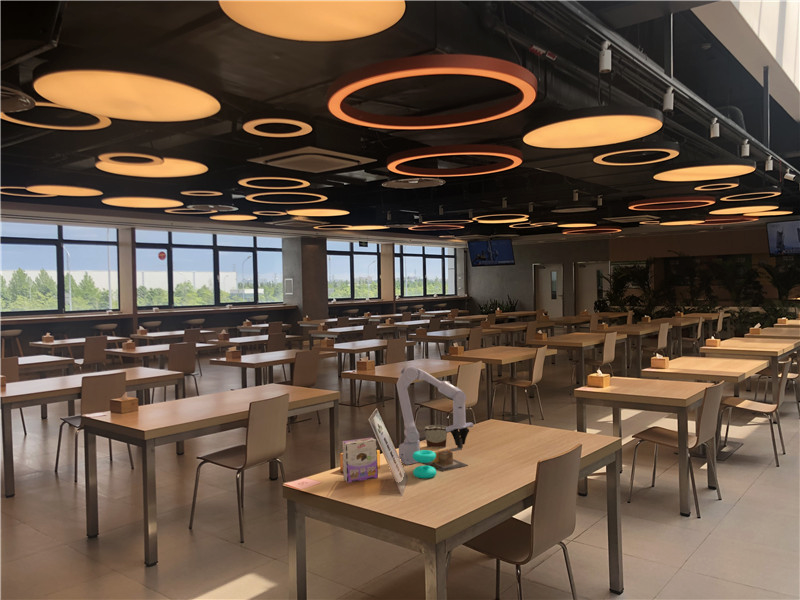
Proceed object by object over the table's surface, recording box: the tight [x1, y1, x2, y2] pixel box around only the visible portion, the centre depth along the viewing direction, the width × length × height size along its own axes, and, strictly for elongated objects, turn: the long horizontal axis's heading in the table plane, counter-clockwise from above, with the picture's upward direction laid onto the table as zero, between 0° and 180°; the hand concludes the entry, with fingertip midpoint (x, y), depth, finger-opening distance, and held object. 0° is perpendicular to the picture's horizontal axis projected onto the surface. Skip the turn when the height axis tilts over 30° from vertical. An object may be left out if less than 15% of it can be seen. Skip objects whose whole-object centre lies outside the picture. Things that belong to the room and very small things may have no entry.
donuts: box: [412, 449, 437, 480], centre depth 251 cm, size 10×10×10 cm
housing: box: [439, 451, 454, 465], centre depth 265 cm, size 4×4×5 cm
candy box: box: [341, 436, 379, 483], centre depth 250 cm, size 14×6×16 cm, turn 111°
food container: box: [423, 424, 448, 448], centre depth 298 cm, size 12×6×10 cm, turn 84°
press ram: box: [431, 437, 464, 463], centre depth 271 cm, size 18×2×8 cm, turn 121°
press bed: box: [423, 458, 468, 472], centre depth 267 cm, size 14×18×3 cm
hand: (460, 444), depth 275 cm, fingers closed on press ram, 2 cm apart
